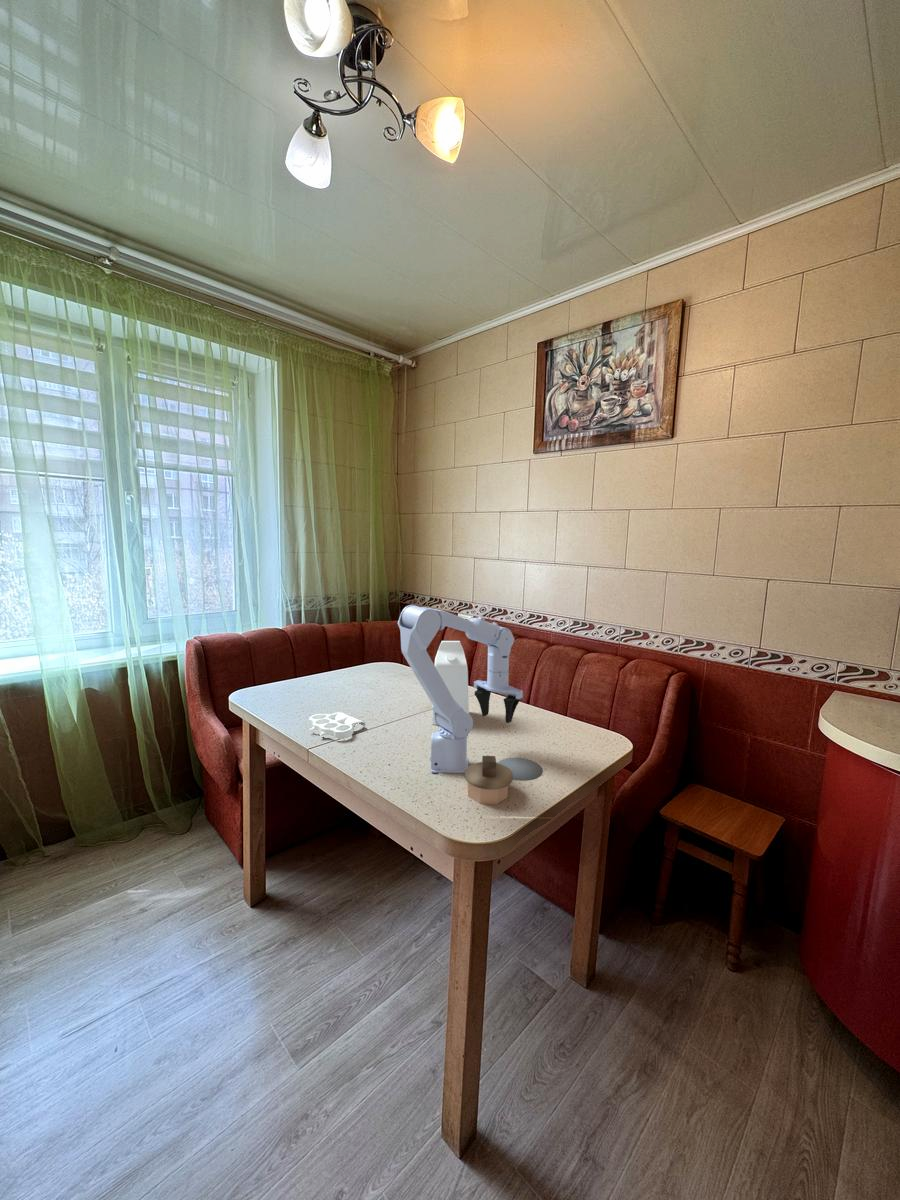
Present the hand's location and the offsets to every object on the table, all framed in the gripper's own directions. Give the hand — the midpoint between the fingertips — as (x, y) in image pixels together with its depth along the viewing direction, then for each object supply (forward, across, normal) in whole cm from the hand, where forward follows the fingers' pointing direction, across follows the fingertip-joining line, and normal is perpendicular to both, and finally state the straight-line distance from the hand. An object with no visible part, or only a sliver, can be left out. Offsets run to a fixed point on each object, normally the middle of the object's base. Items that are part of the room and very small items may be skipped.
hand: (496, 718), depth 123 cm
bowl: (+10, -10, +19) cm, 24 cm away
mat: (+10, -10, +4) cm, 15 cm away
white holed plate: (+11, +47, +19) cm, 52 cm away
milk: (+10, +26, -12) cm, 30 cm away
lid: (+6, -10, +18) cm, 22 cm away
